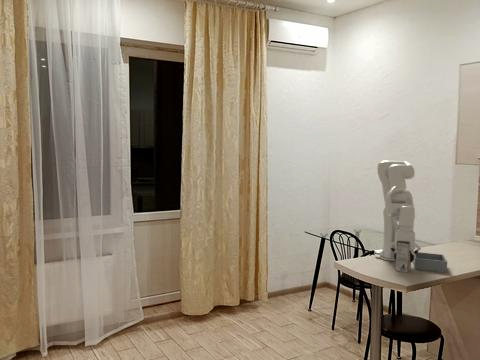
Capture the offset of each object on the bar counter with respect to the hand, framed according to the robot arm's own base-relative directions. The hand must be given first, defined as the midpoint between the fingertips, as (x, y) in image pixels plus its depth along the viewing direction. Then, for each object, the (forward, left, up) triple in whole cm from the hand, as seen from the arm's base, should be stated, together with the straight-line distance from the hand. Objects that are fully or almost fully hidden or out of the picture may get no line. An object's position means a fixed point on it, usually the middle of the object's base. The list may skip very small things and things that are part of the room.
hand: (403, 260), depth 238 cm
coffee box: (0, 0, -5) cm, 5 cm away
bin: (+14, +12, -5) cm, 19 cm away
